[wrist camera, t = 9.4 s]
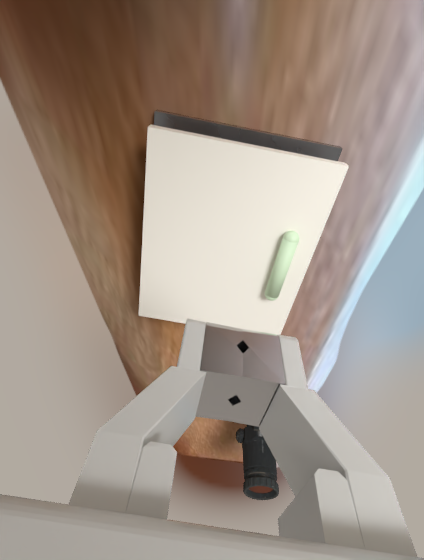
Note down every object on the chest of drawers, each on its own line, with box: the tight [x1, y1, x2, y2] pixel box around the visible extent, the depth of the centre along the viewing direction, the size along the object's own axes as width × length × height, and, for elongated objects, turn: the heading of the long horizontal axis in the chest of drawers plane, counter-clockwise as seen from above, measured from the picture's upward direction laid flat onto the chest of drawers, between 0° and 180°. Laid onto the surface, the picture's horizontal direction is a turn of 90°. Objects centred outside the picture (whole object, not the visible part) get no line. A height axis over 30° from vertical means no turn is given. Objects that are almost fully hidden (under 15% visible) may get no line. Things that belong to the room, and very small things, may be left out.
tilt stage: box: [139, 125, 349, 335], centre depth 34 cm, size 22×18×3 cm
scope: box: [236, 425, 279, 500], centre depth 54 cm, size 8×14×10 cm
